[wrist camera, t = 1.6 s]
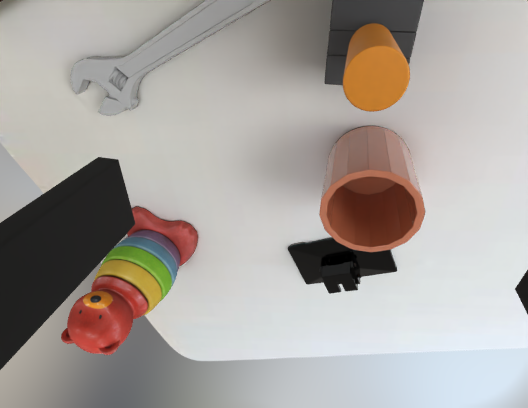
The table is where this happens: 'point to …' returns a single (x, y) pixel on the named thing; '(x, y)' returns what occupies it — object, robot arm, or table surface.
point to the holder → (362, 13)
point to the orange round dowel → (374, 69)
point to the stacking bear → (130, 282)
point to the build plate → (338, 263)
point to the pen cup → (371, 191)
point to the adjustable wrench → (155, 53)
